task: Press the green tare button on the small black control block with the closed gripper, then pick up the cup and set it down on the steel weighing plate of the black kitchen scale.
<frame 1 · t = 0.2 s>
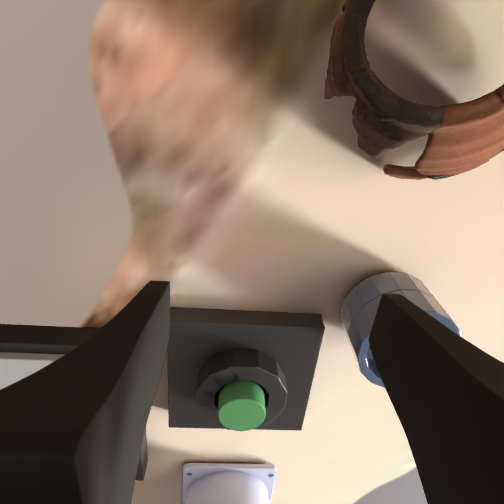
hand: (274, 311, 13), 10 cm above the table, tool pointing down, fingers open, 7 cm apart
scale: (62, 399, 28), on the table
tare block: (240, 366, 27), on the table
tare button: (241, 405, 24), point 3 cm above the table, slide at 0.1 cm
cup: (381, 305, 25), on the table
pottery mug: (431, 73, 19), on the table
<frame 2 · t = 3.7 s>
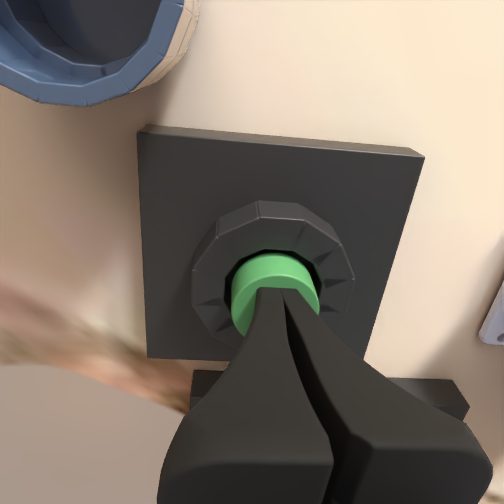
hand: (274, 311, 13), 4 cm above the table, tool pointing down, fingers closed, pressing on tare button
scale: (308, 447, 23), on the table
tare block: (266, 253, 16), on the table
tare button: (273, 299, 13), point 3 cm above the table, slide at 0.1 cm, touching gripper
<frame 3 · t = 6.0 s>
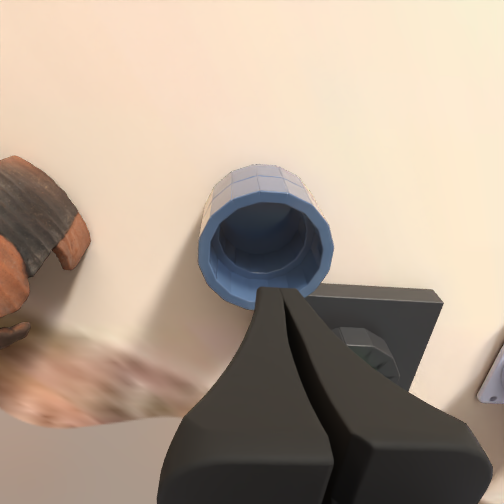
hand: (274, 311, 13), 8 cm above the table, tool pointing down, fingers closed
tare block: (336, 348, 25), on the table
cup: (259, 215, 20), on the table
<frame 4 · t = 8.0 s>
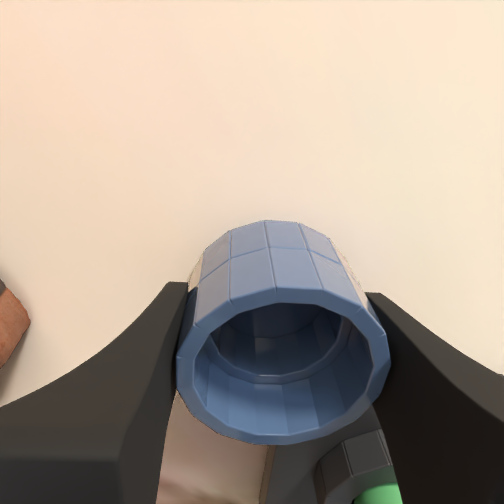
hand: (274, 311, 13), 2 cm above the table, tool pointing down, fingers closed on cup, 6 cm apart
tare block: (368, 443, 19), on the table
cup: (269, 285, 14), on the table, touching gripper
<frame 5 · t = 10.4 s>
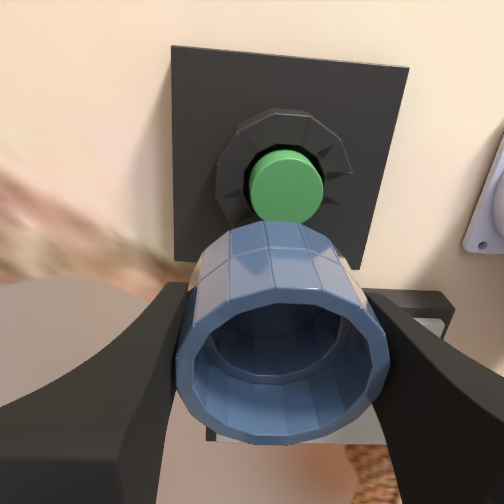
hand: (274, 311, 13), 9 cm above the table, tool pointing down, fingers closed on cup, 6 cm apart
scale: (313, 360, 26), on the table
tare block: (276, 166, 19), on the table
tare button: (284, 188, 16), point 3 cm above the table, slide at 0.1 cm
cup: (269, 285, 14), point 7 cm above the table, touching gripper
when the fingers open (4 cm above the table, at t = 13.0 s): cup stays where it is, resting on scale.
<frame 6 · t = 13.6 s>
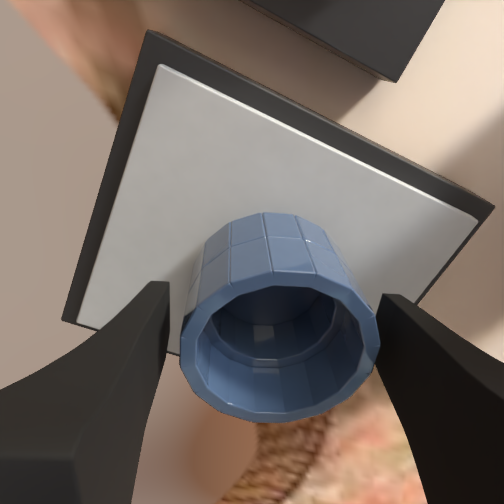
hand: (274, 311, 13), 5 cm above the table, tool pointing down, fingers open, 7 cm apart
scale: (263, 246, 17), on the table
cup: (267, 275, 15), point 2 cm above the table, touching scale
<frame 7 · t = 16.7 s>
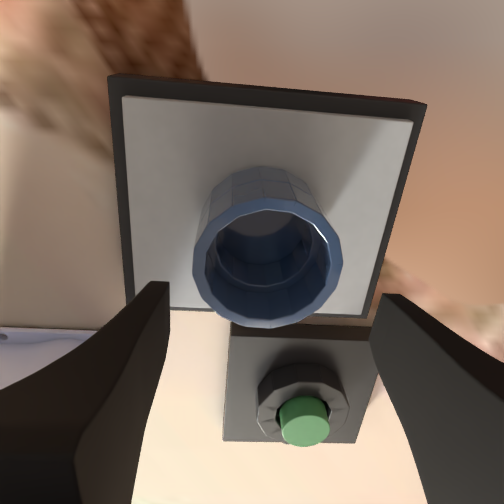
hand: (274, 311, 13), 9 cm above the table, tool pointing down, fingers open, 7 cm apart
scale: (257, 205, 21), on the table
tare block: (296, 379, 27), on the table
tare button: (304, 420, 24), point 3 cm above the table, slide at 0.1 cm
cup: (260, 222, 19), point 2 cm above the table, touching scale
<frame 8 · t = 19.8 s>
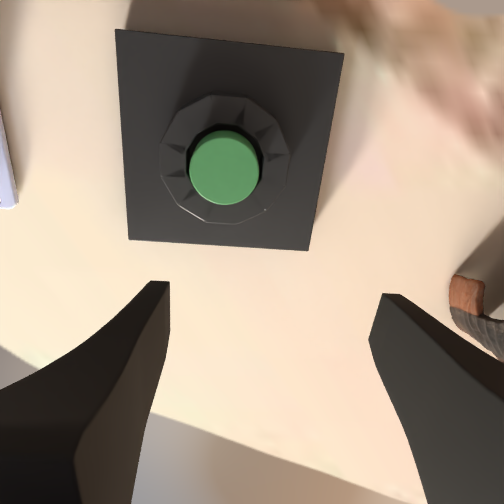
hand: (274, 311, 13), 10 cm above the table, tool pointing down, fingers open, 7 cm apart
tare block: (226, 149, 20), on the table
tare button: (224, 167, 17), point 3 cm above the table, slide at 0.1 cm
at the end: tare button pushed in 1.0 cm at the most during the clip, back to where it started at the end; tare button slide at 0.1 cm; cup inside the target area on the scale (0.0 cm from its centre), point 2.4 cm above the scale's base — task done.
